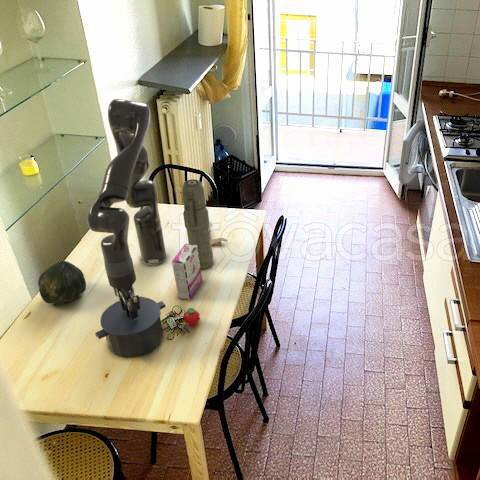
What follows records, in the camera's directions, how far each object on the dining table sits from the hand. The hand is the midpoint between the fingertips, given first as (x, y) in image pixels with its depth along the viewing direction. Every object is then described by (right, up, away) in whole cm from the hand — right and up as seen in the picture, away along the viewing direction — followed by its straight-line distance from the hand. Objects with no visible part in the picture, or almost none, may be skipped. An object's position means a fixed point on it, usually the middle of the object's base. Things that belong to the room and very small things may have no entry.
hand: (130, 313), depth 157 cm
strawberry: (+16, -5, +12) cm, 21 cm away
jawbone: (+14, +25, +59) cm, 65 cm away
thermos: (+13, +13, +41) cm, 45 cm away
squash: (-31, +3, +23) cm, 38 cm away
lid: (0, -1, +1) cm, 1 cm away
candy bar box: (+12, +4, +27) cm, 30 cm away
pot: (0, -9, +6) cm, 11 cm away
